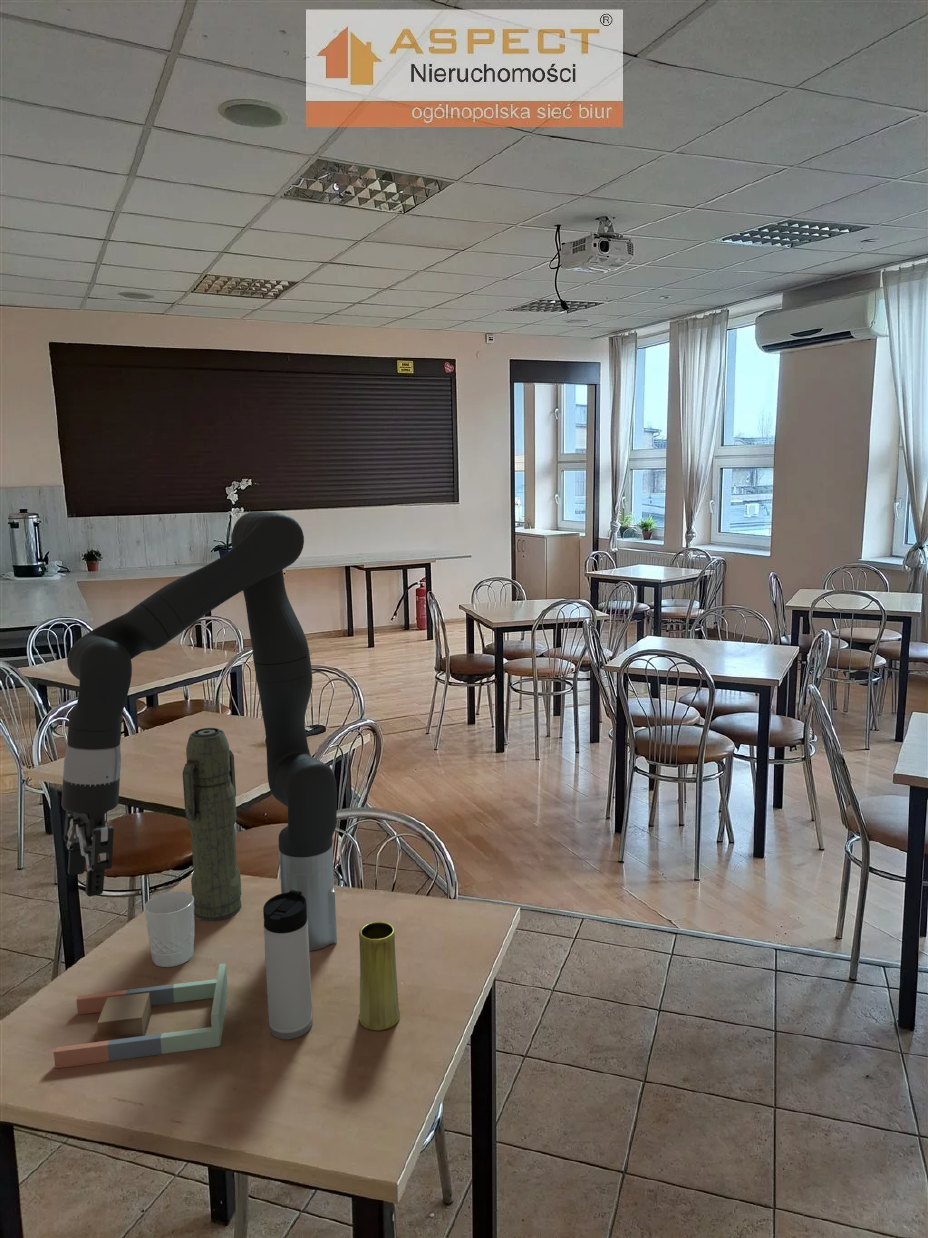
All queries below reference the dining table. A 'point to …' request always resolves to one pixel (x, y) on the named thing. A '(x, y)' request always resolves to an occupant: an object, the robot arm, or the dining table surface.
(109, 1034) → the walnut block
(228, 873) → the thermos
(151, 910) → the white cup
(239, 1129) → the dining table surface
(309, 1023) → the travel mug
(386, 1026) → the vase
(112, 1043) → the channel
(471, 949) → the dining table surface
